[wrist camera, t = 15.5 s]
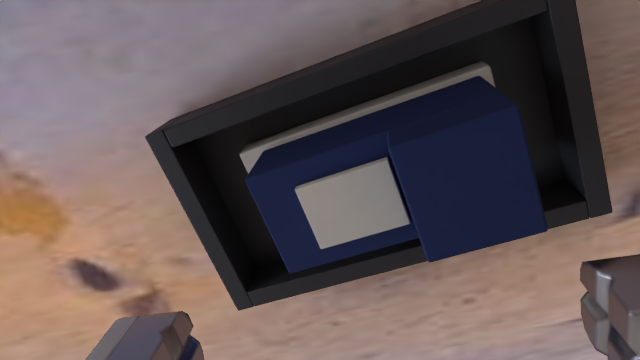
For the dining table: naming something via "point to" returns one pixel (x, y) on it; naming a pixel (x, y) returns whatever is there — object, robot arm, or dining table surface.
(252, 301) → the tray
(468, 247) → the navy notched block
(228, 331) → the dining table surface
